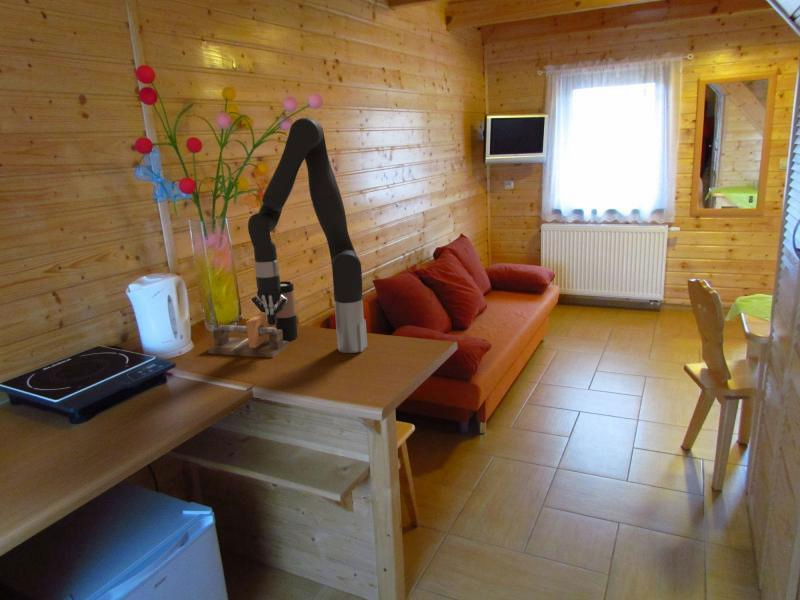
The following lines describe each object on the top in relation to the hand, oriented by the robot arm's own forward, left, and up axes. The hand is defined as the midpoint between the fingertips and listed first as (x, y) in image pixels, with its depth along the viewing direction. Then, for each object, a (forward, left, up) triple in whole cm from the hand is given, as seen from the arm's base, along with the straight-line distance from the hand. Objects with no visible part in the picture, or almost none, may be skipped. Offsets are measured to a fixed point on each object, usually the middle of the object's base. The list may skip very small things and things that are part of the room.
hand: (272, 324), depth 188 cm
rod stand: (+10, 0, -9) cm, 14 cm away
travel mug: (+2, -13, -10) cm, 16 cm away
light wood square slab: (+6, 0, -7) cm, 9 cm away
